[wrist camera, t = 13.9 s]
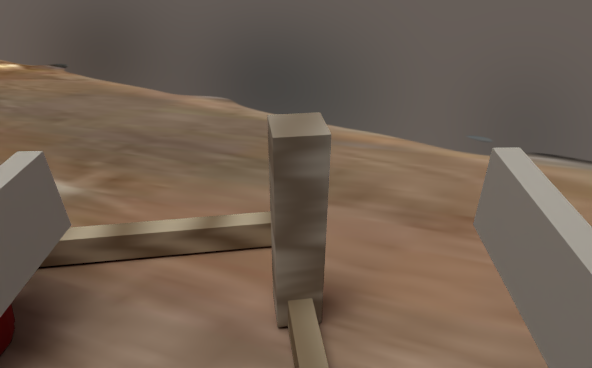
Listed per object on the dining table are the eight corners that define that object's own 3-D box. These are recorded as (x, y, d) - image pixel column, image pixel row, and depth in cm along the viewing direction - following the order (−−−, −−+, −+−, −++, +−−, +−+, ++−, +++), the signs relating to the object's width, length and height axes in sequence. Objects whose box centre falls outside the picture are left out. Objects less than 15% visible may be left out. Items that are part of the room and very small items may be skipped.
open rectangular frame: (298, 231, 37) (300, 75, 30) (347, 426, 23) (373, 214, 16) (-52, 262, 34) (-146, 92, 27) (-258, 515, 19) (-591, 296, 12)
